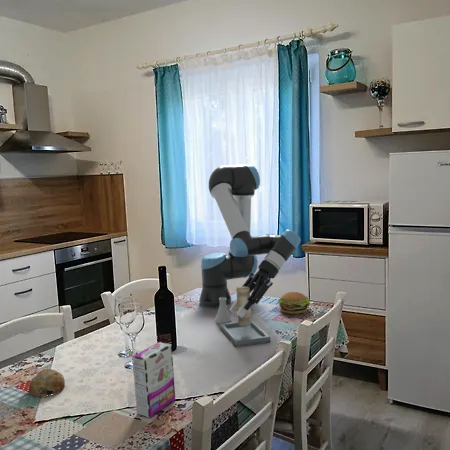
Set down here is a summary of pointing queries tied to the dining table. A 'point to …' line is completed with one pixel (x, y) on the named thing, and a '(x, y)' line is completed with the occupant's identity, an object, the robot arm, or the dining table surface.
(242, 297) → the birch peg
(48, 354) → the dining table surface
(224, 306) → the flask
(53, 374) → the bread roll
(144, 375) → the candy bar box
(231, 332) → the tray
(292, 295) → the food
